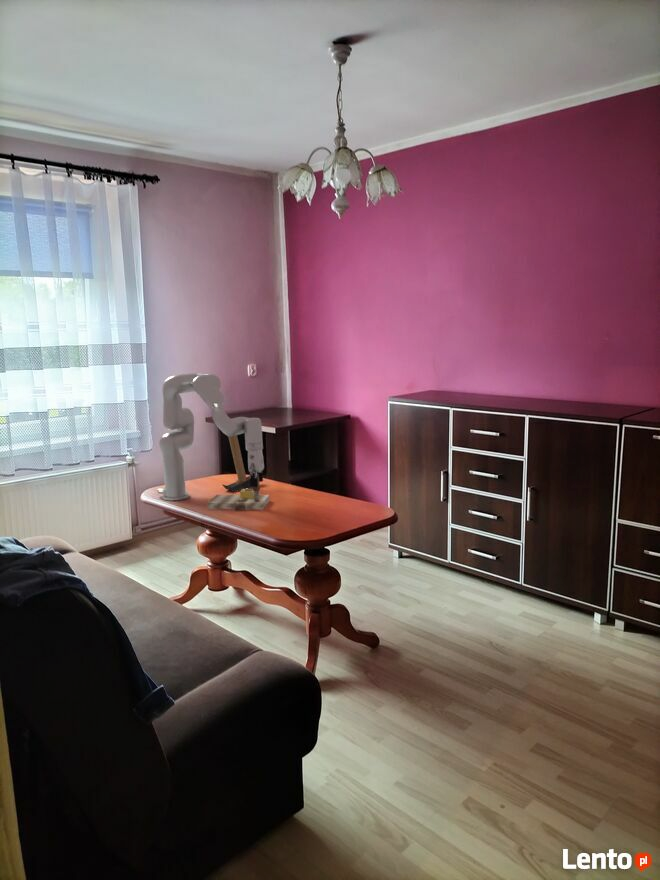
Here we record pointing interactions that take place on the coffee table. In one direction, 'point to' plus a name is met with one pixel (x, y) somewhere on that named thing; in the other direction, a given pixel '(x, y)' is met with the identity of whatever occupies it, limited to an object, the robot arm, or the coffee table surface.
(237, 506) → the board
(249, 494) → the block
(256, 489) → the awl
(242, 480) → the hammer
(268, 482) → the coffee table surface
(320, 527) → the coffee table surface
